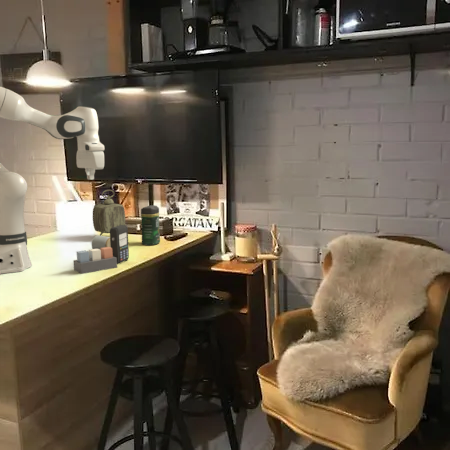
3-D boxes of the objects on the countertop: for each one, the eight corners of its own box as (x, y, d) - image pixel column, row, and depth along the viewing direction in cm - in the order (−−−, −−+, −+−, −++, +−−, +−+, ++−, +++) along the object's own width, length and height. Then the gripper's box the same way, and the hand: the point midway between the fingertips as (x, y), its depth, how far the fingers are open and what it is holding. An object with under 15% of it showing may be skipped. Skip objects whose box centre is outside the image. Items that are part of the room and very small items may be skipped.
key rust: (104, 263, 220) (104, 249, 219) (101, 262, 223) (100, 248, 222) (113, 262, 223) (112, 248, 222) (109, 260, 225) (108, 246, 224)
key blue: (81, 267, 214) (80, 253, 213) (77, 266, 217) (76, 251, 216) (89, 266, 217) (88, 251, 216) (85, 264, 219) (85, 250, 218)
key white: (93, 265, 217) (92, 251, 216) (89, 264, 220) (88, 249, 219) (101, 264, 220) (100, 249, 219) (97, 262, 222) (96, 248, 221)
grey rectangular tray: (81, 273, 213) (81, 263, 212) (74, 270, 219) (73, 260, 218) (117, 267, 222) (116, 257, 221) (108, 264, 228) (108, 254, 227)
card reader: (118, 264, 226) (117, 228, 224) (110, 264, 228) (108, 228, 225) (130, 259, 235) (128, 224, 232) (121, 259, 236) (120, 224, 234)
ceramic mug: (106, 254, 245) (106, 237, 244) (91, 253, 248) (90, 236, 247) (120, 250, 255) (119, 233, 253) (105, 249, 258) (104, 232, 257)
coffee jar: (155, 246, 261) (154, 207, 258) (139, 245, 263) (138, 206, 260) (162, 242, 271) (161, 204, 268) (147, 241, 272) (145, 204, 269)
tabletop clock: (118, 235, 289) (116, 187, 285) (128, 237, 283) (125, 189, 278) (93, 239, 280) (90, 190, 275) (103, 242, 273) (100, 191, 269)
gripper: (71, 146, 236) (73, 178, 238) (91, 146, 220) (93, 181, 222) (85, 145, 240) (87, 177, 242) (106, 146, 224) (108, 180, 226)
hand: (90, 179), depth 232 cm, fingers closed
